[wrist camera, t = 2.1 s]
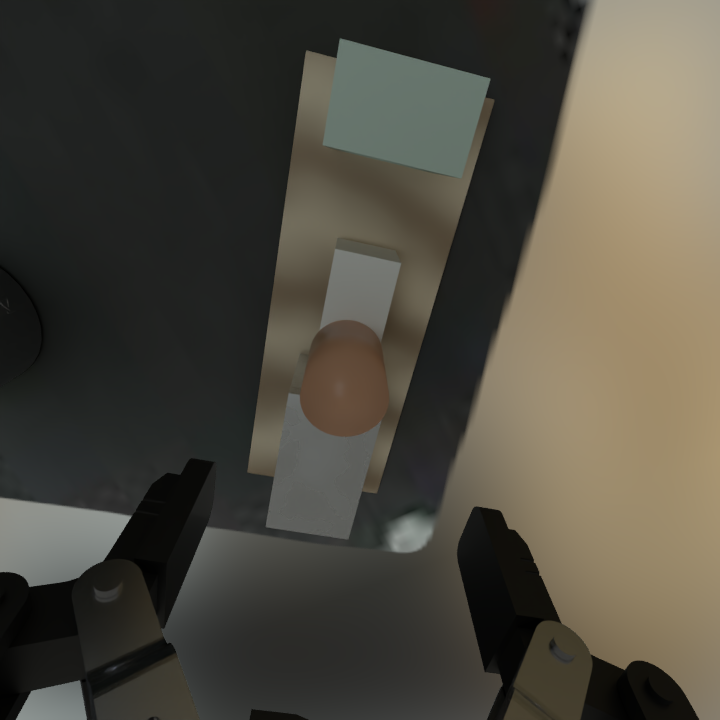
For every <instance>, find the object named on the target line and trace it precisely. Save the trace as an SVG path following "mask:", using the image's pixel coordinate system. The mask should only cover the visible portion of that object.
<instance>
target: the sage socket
mask: <svg viewBox="0 0 720 720" xmlns="http://www.w3.org/2000/svg"><path fill="white" fill-rule="evenodd" d="M489 82H490V78H486V77H482V76H479V75H475V74H471V73H467V72H464V71H460V70H456V69H452V68H449V67H445V66H441V65H437V64H434V63H430V62H426V61H422V60H419V59H415V58H411V57H407V56H404V55H400V54H396V53H392V52H389V51H385V50H381V49H378V48H374V47H370V46H366V45H363V44H359V43H355V42H351V41H348V40H344V39H340V42H339V48H338V54H337V60H336V66H335V72H334V78H333V84H332V90H331V96H330V103H329V109H328V115H327V121H326V127H325V133H324V139H323V146H326V147H328V148H330V149H335V150H339V151H343V152H347V153H351V154H355V155H359V156H364V157H368V158H372V159H376V160H380V161H384V162H388V163H393V164H397V165H401V166H405V167H409V168H413V169H417V170H422V171H426V172H430V173H434V174H439V175H444V176H450V177H455V178H462V175H463V172H464V168H465V165H466V161H467V158H468V154H469V151H470V148H471V144H472V141H473V137H474V134H475V130H476V127H477V123H478V120H479V117H480V113H481V110H482V106H483V103H484V99H485V96H486V93H487V89H488V86H489Z"/></svg>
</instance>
